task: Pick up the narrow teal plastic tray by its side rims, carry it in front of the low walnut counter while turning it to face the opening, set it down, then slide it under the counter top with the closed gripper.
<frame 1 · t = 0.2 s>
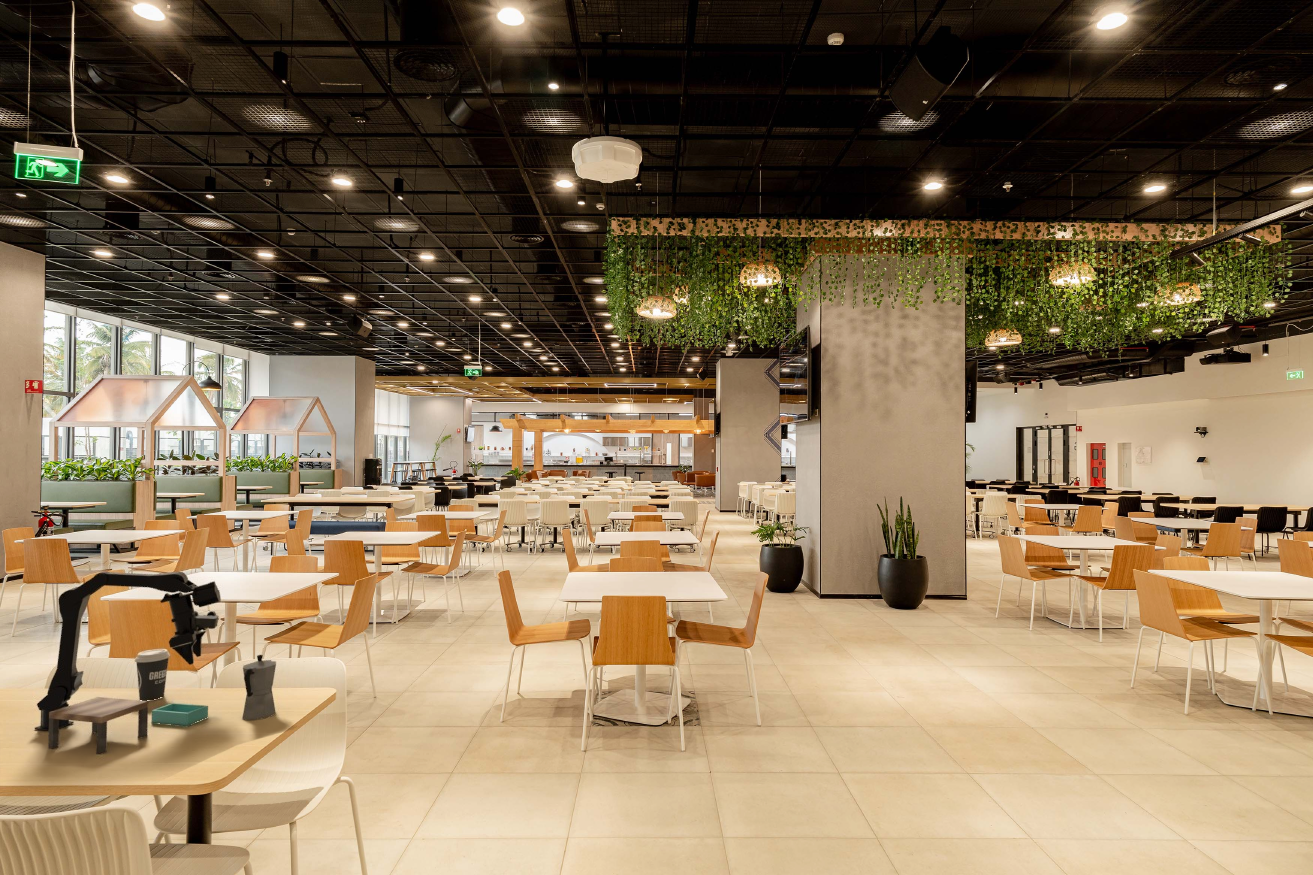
hand: (195, 660, 221), 15 cm above the table, tool pointing down, fingers open, 9 cm apart
coffee cup: (151, 698, 231), on the table
counter: (98, 741, 194), on the table
coffeepot: (257, 716, 213), on the table
tray: (179, 721, 210), on the table
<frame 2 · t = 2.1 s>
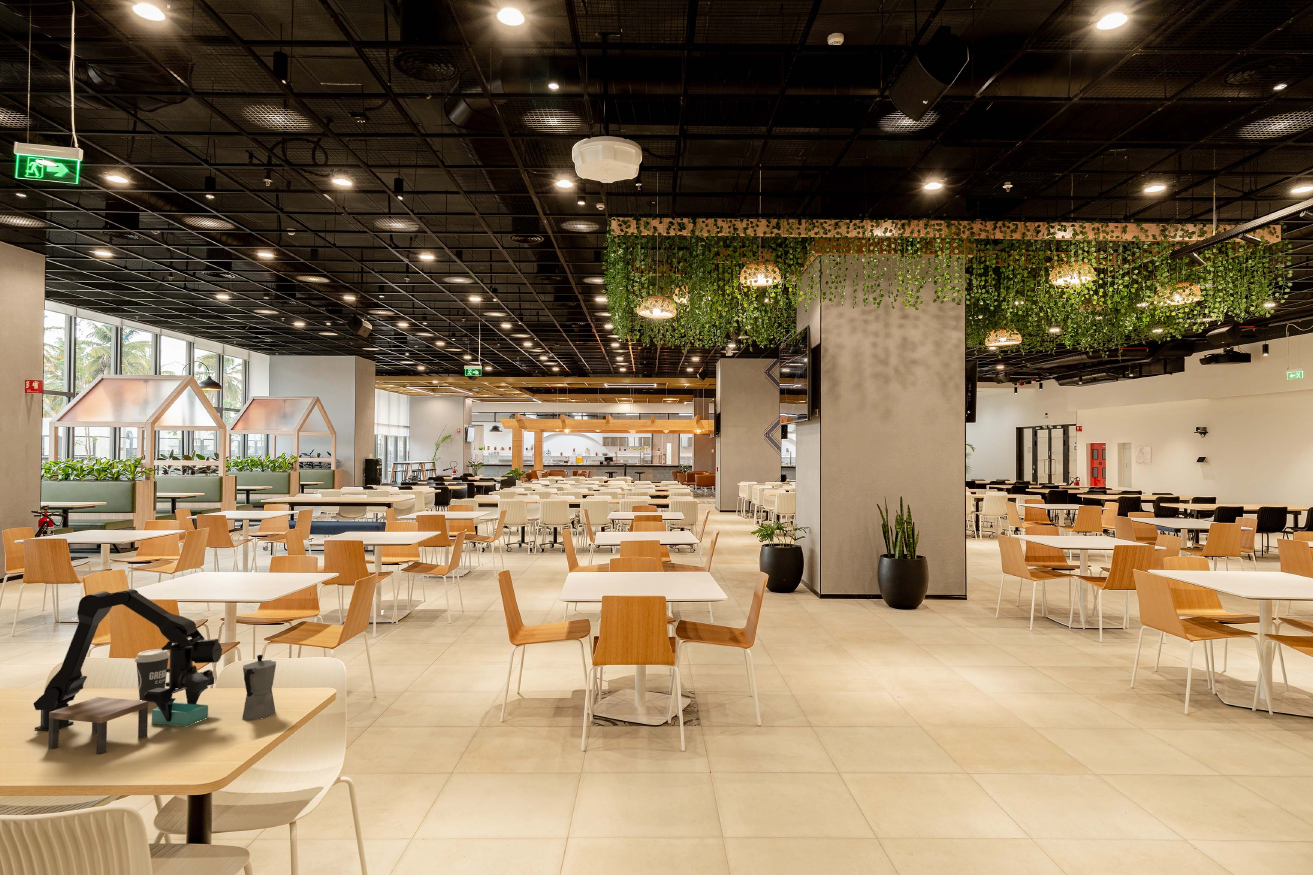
hand: (180, 716, 210), 1 cm above the table, tool pointing down, fingers closed on tray, 7 cm apart
tray: (180, 720, 210), on the table, touching gripper
everything else where it was.
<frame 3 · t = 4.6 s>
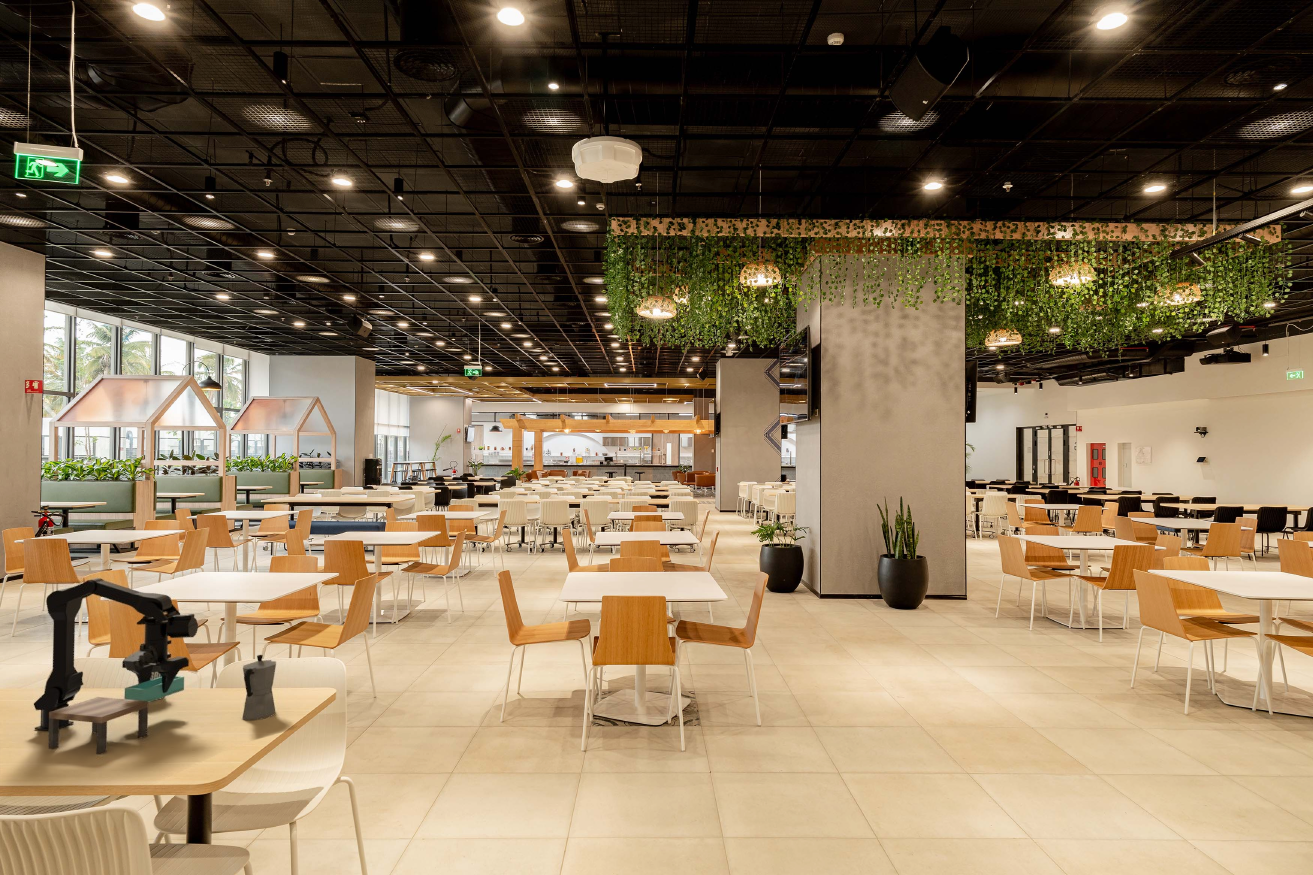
hand: (155, 691, 210), 9 cm above the table, tool pointing down, fingers closed on tray, 7 cm apart
tray: (154, 695, 210), point 7 cm above the table, touching gripper
everything else where it was.
when the fingers open (2 cm above the table, at t = 6.2 s): tray drops 1 cm, on the table.
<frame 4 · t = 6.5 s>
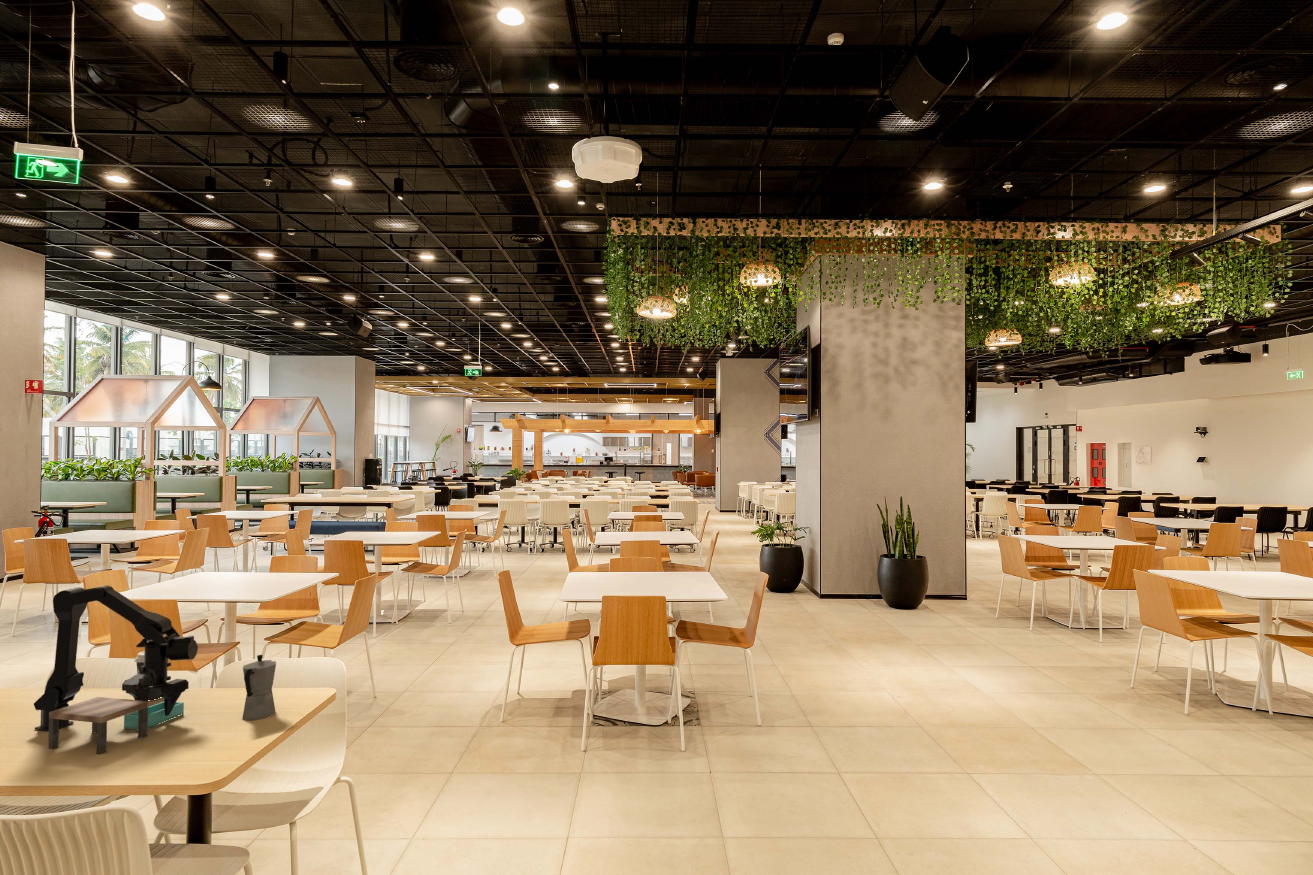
hand: (154, 714, 210), 2 cm above the table, tool pointing down, fingers open, 9 cm apart
tray: (154, 722, 209), on the table
everything else where it was.
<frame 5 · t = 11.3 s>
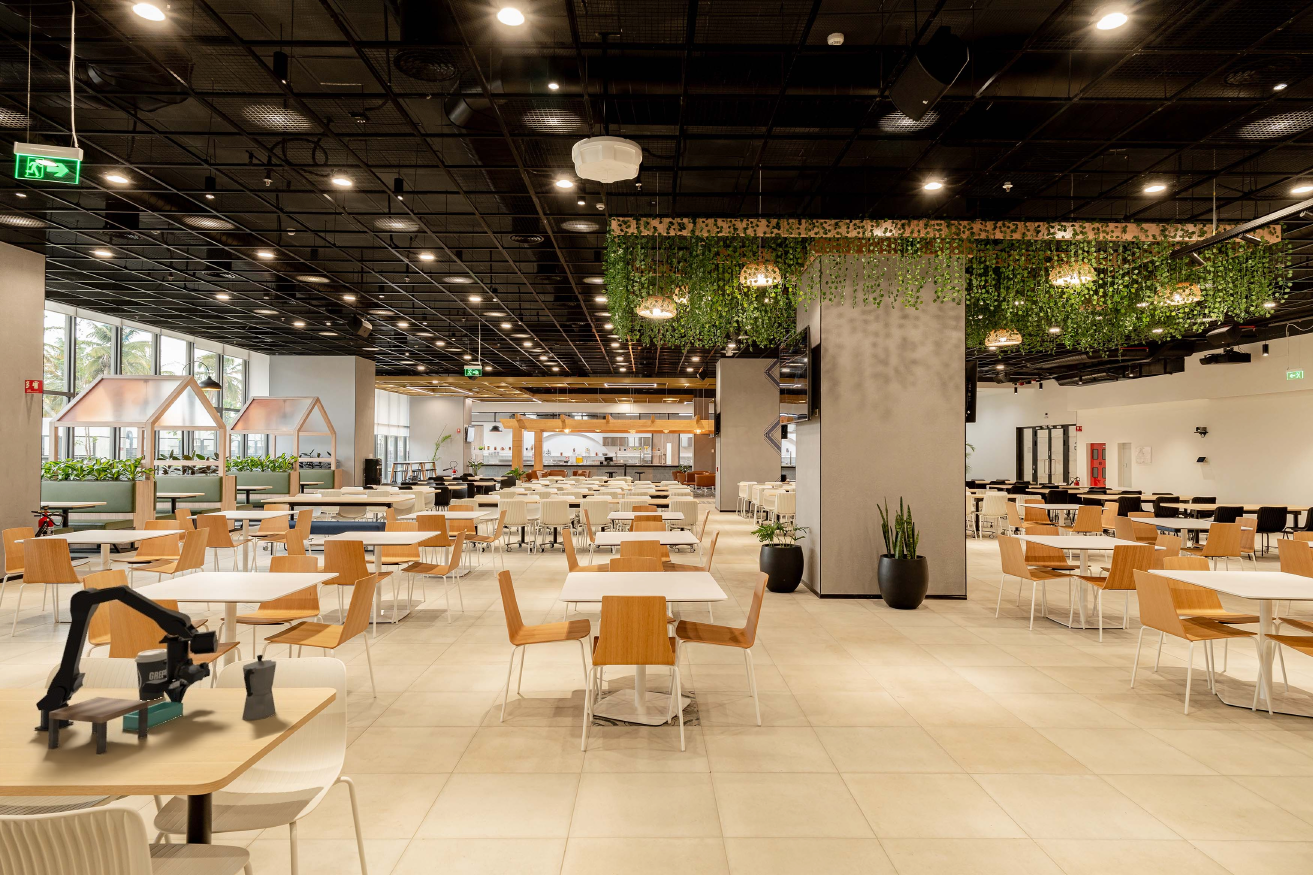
hand: (177, 707, 217), 2 cm above the table, tool pointing down, fingers closed
tray: (153, 722, 209), on the table, touching gripper
everything else where it was.
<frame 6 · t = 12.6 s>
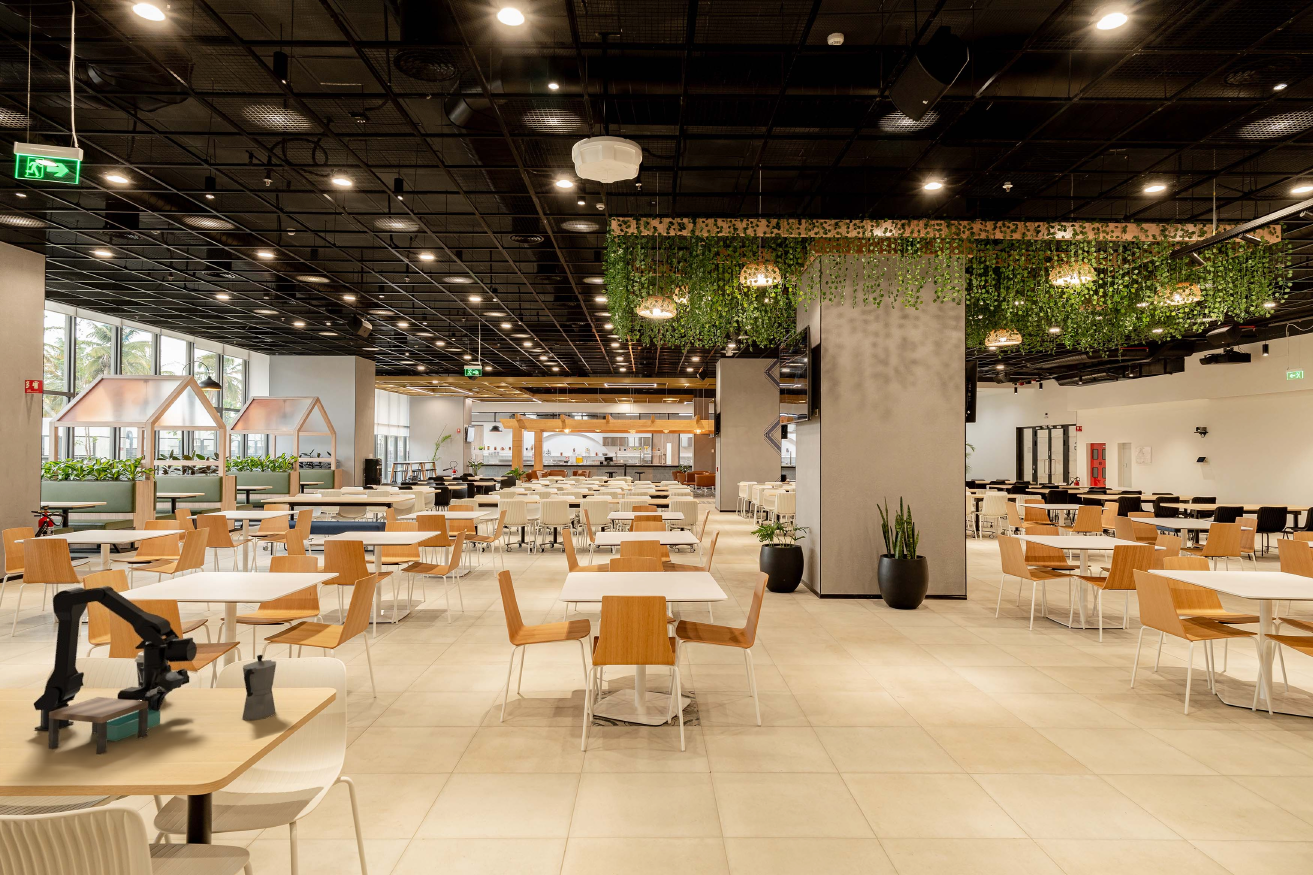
hand: (154, 715, 209), 2 cm above the table, tool pointing down, fingers closed
tray: (129, 731, 202), on the table, touching gripper
everything else where it was.
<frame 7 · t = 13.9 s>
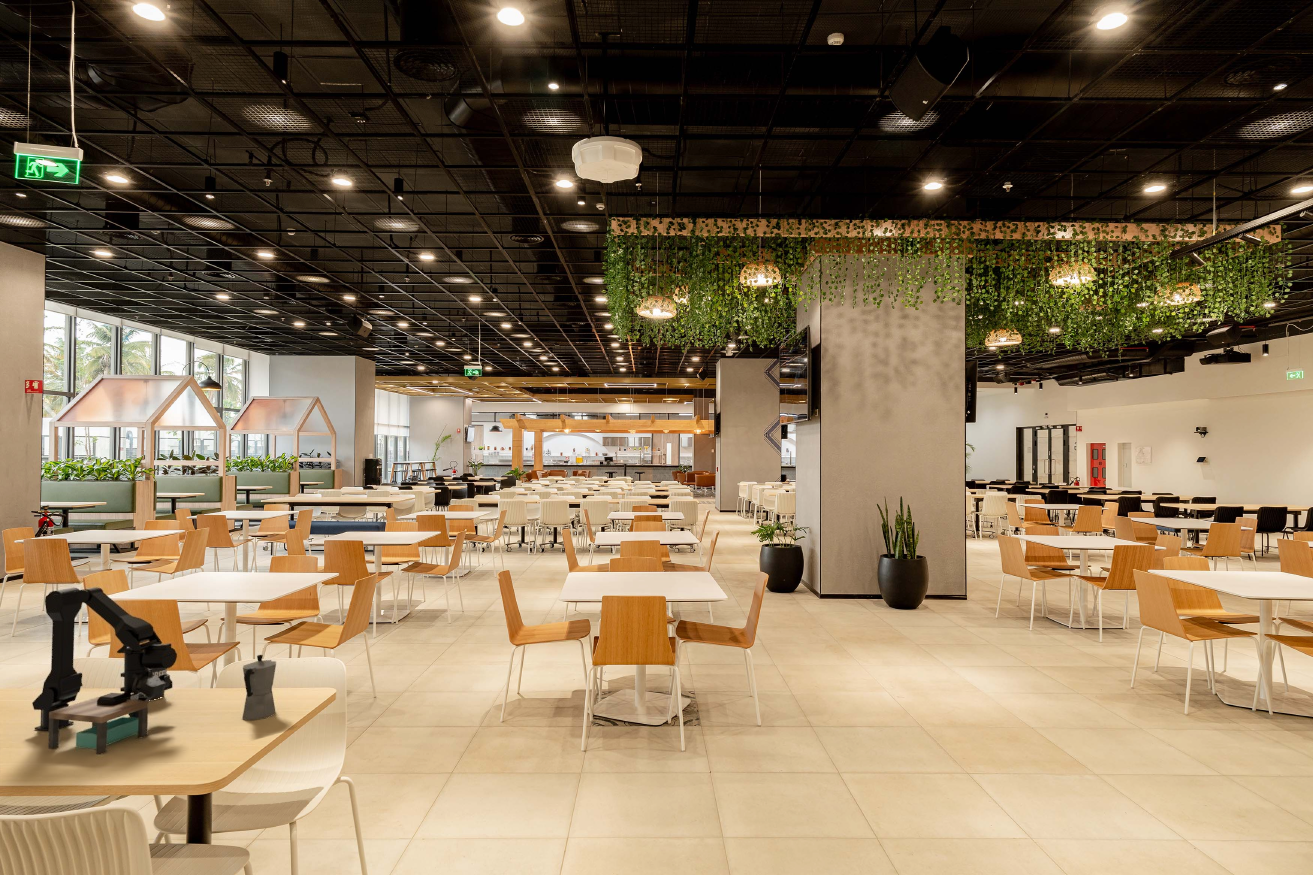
hand: (136, 722, 204), 2 cm above the table, tool pointing down, fingers closed
tray: (109, 739, 196), on the table, touching gripper
everything else where it was.
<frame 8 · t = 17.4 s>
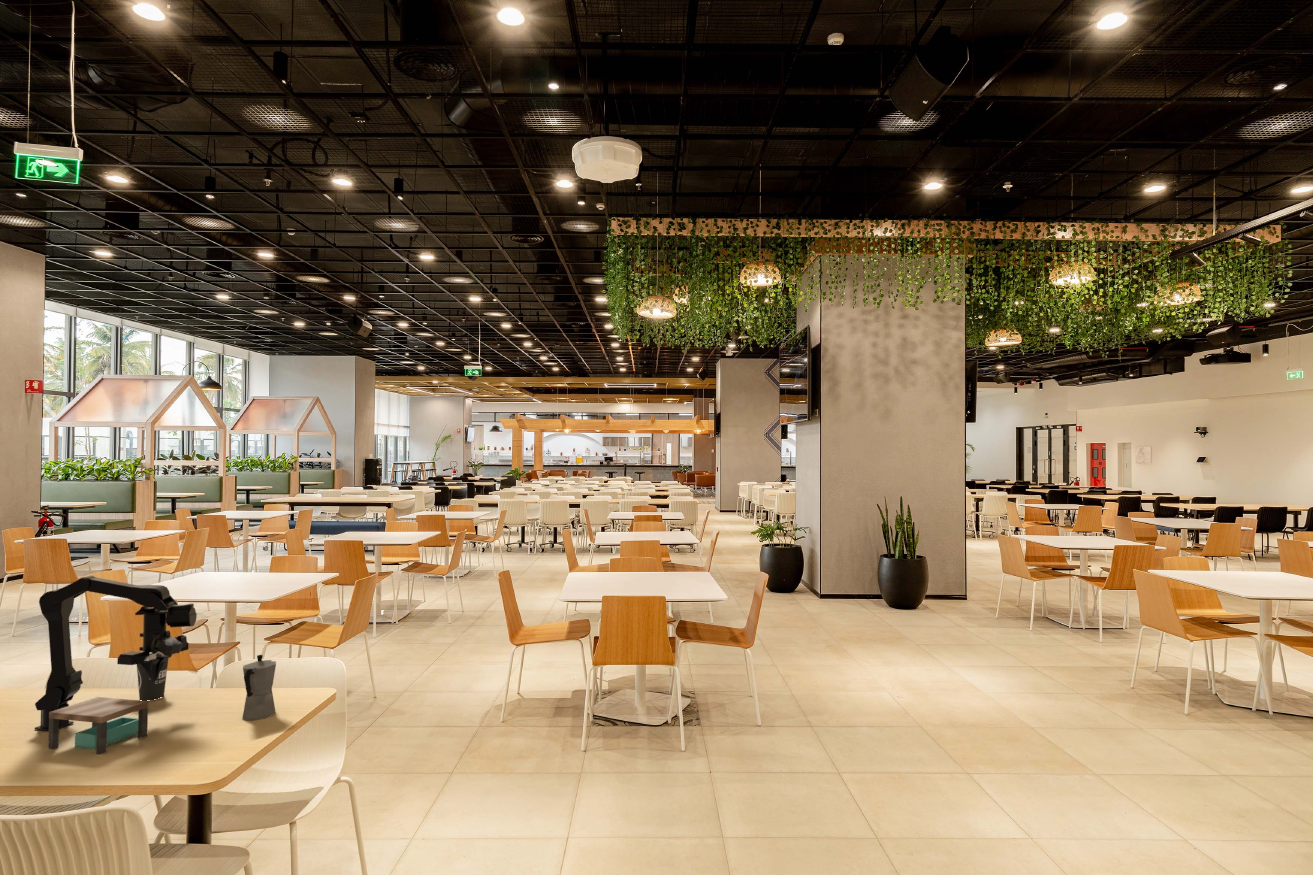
hand: (153, 680, 213), 11 cm above the table, tool pointing down, fingers closed
tray: (108, 740, 196), on the table
everything else where it was.
at the end: tray inside the target area (2.5 cm from its centre), on the table; tray tilted 0° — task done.
